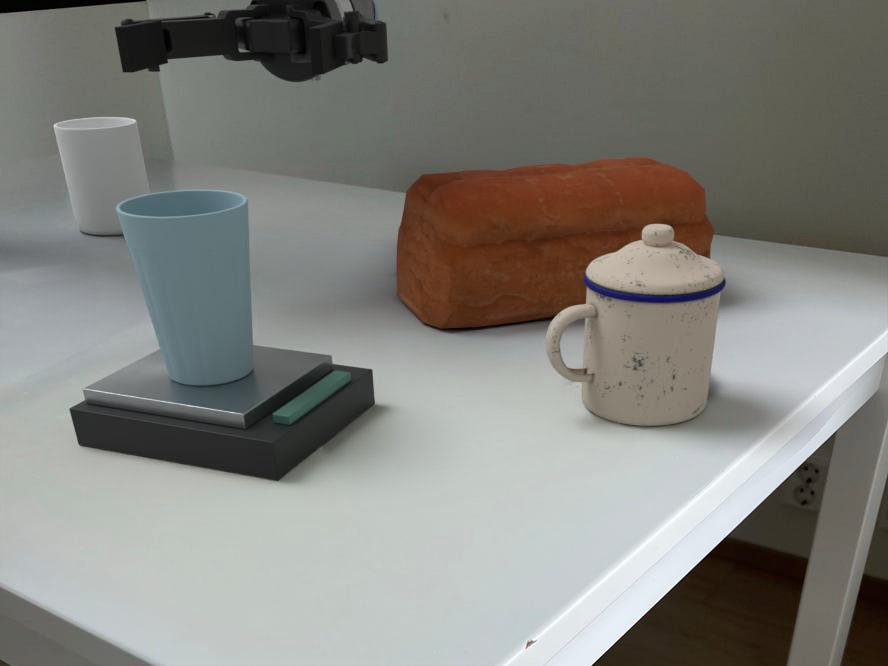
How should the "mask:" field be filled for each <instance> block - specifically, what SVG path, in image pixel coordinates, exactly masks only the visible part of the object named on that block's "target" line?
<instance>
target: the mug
mask: <svg viewBox="0 0 888 666" xmlns="http://www.w3.org/2000/svg"><path fill="white" fill-rule="evenodd" d="M53 130H54V134H55V139H56V143H57V148H58V153H59V156H60V160H61V161H60V162H61V165H62V170H63V173H64V177H65V182H66V186H67V191H68V195H69V200H70V204H71V209H72V213H73V216H74V217H73V218H74V220H75V223H76V226H77V228H78V229H79V231H80V232H82V233H85V234H88V235H93V236H120V235H124V234H123V231H122V228H121V225H120V221H119V218H118V215H117V212H116V206H117V205H118V204H119V203H121V202H123V201H125V200H127V199H130V198H134V197H137V196H141V195H146V194H151V191H150V190H151V189H150V185H149V180H148V174H147V170H146V163H145V158H144V154H143V147H142V142H141V137H140V133H139V132H140V131H139V126H138V121H137V120H136V119H135V118H129V117H124V116H123V117H121V116H97V117H84V118H74V119H67V120H63V121H59V122H55V123H54V124H53Z"/></svg>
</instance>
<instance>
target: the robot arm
mask: <svg viewBox="0 0 888 666" xmlns="http://www.w3.org/2000/svg"><path fill="white" fill-rule="evenodd" d="M216 15H217V16H216ZM114 32H115V37H116V43H117V48H118V54H119V59H120V64H121V70H122V73H136V72H140V71H144V70H147V71H148V72H150V73H151V72H152V73H159V72H161V68H160V66H162V65H163V66H164V65H165V64H169V60H178V59H190V58H203V57H217V56H223V58H224V59H225V60H227V61H231V62H232V61H233V62H245V61H254V62H256V63H257V62H258V63H260V64H261V66H262V67H263V68H264V69H265V70H266V71H268V72H269V73H270V74H271V75H273V76H274V77H276V78H277V79H280V80H283V81H286V82H289V83H303V82H307V81H308V82H309V81H311V82H313V83H316V82H320V80H321V78H322V76H321V75H325V74H327V73H329V72H332V71H335V70H337V69H338V68H341V67H343V66H347V65H350V64H351V65H359V63H360V64H361V63H363V62H364V59H365V60H368V61H371V62H374V63H376V64H379V65H380V64H385V63H387V62H389V48H388V47H389V46H388V29H387V22H385V21H382V20H379V8H378V5H377V1H376V0H251V1H250V3H249V5H247V6H246V7H245V8H237V9H235V8H234V9H221V10H220V11H219V12H218V14H215V13H212V12H211V11H207V12H204V13H203V14H195V15H187V16H174V17H173V16H172V17H161V18H158V17H157V18H146V19H132V18H125V19H122V20H121V21H120V25H118V26H114ZM240 50H244V51H240Z"/></svg>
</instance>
